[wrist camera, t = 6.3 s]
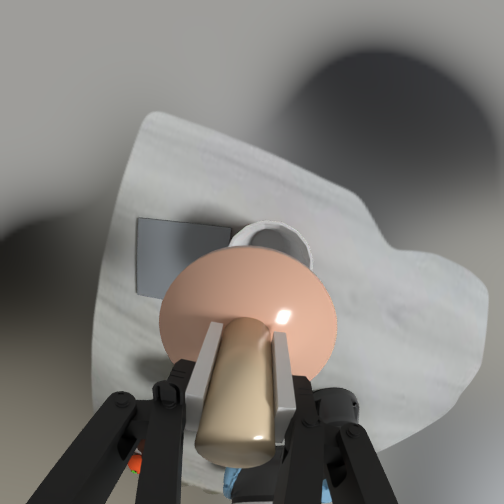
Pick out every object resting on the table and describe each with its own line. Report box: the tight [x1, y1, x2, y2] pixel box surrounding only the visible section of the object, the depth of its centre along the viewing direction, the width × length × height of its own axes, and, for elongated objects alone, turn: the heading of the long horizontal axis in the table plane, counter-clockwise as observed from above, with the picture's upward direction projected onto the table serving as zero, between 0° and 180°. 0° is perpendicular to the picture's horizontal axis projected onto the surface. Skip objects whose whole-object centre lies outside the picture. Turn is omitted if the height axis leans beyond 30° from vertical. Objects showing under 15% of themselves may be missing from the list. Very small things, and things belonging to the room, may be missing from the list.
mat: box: [137, 218, 232, 299], centre depth 45 cm, size 16×14×1 cm
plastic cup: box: [228, 220, 313, 271], centre depth 38 cm, size 11×11×12 cm
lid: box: [159, 245, 337, 468], centre depth 13 cm, size 12×12×10 cm
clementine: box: [128, 455, 142, 474], centre depth 58 cm, size 8×7×7 cm
